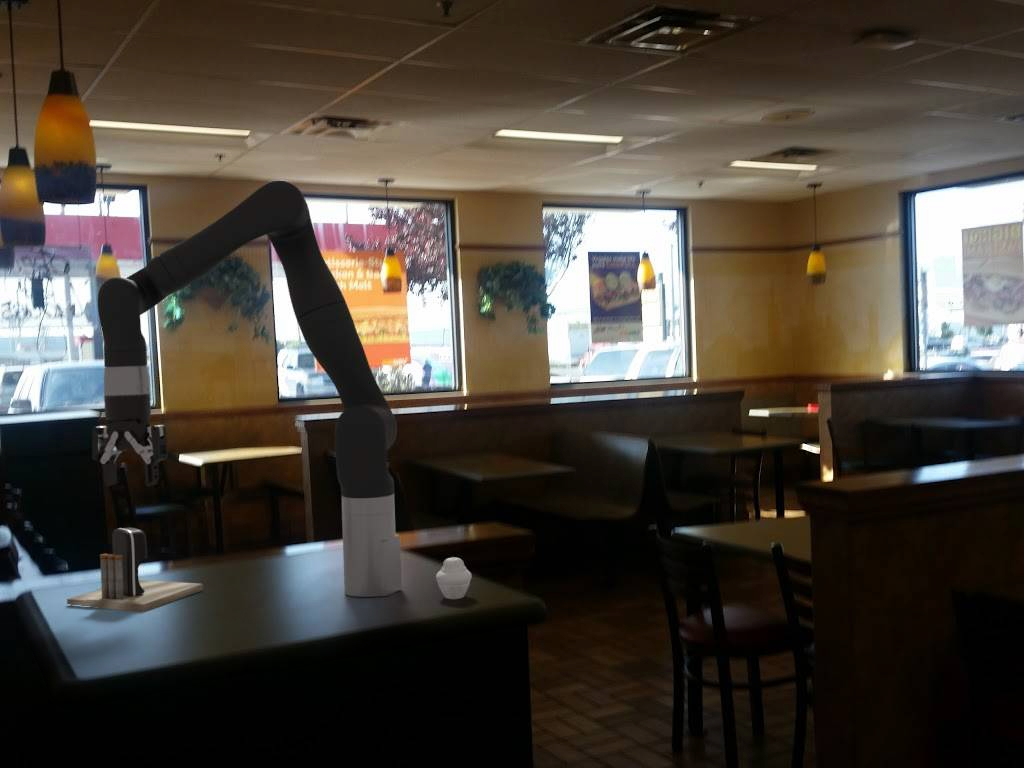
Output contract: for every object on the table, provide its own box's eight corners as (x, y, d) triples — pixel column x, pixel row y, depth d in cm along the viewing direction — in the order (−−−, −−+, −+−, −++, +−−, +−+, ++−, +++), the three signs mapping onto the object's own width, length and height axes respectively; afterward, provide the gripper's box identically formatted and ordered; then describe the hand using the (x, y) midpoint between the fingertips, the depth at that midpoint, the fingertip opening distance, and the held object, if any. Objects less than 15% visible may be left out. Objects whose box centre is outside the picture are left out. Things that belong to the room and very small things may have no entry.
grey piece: (467, 601, 174) (466, 560, 174) (432, 601, 176) (430, 559, 176) (476, 593, 181) (474, 553, 180) (441, 592, 182) (440, 552, 182)
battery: (151, 594, 181) (148, 528, 181) (129, 598, 178) (127, 531, 178) (134, 588, 186) (132, 524, 186) (113, 592, 183) (110, 527, 183)
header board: (202, 590, 189) (201, 542, 188) (143, 611, 173) (141, 559, 173) (130, 585, 194) (129, 538, 194) (67, 606, 179) (65, 555, 179)
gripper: (174, 390, 183) (178, 482, 183) (109, 392, 188) (113, 482, 188) (146, 392, 176) (150, 488, 176) (78, 394, 180) (83, 487, 181)
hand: (131, 485), depth 182 cm, fingers open, 8 cm apart
